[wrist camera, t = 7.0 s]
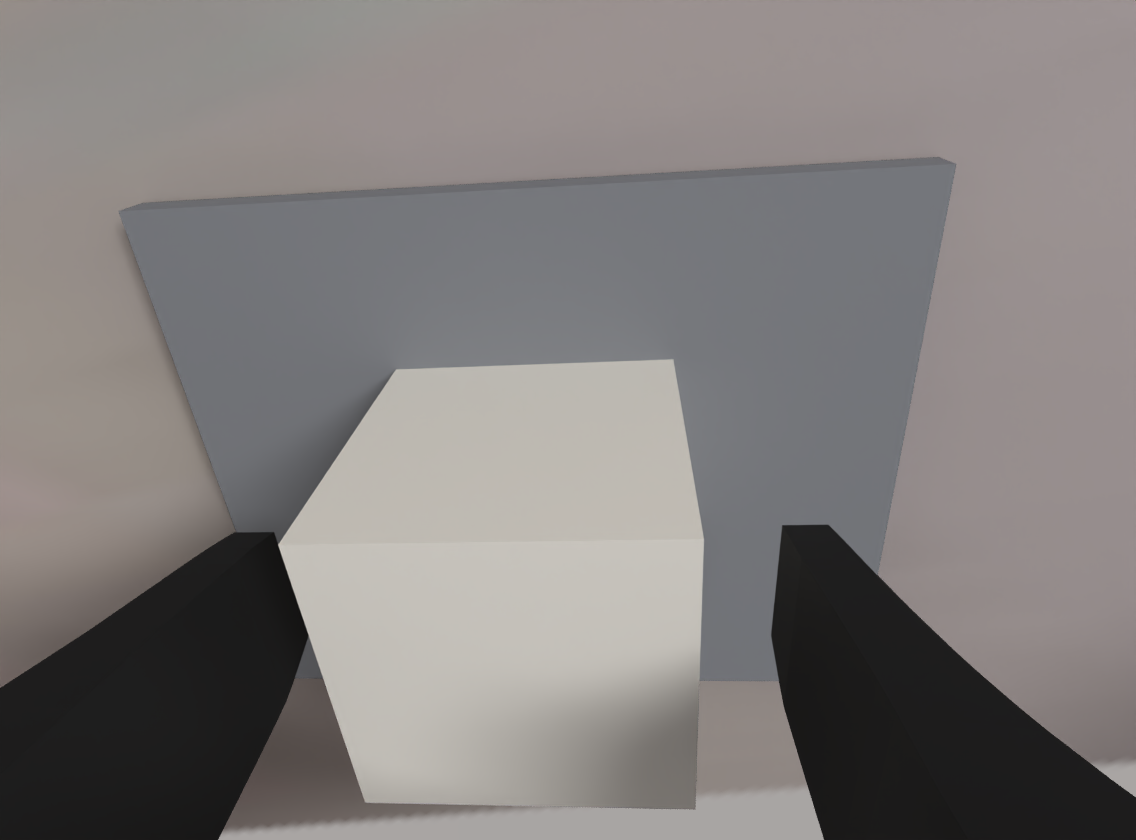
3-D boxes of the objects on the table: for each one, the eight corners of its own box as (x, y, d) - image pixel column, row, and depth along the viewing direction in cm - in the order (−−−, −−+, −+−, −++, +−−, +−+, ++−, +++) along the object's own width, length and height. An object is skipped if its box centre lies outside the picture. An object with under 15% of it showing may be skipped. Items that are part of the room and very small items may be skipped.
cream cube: (673, 359, 11) (704, 539, 7) (672, 578, 13) (695, 809, 9) (396, 369, 11) (278, 544, 7) (439, 580, 14) (365, 802, 10)
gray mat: (937, 157, 10) (955, 163, 9) (848, 658, 15) (857, 681, 14) (143, 203, 11) (118, 211, 10) (301, 656, 16) (290, 678, 15)
